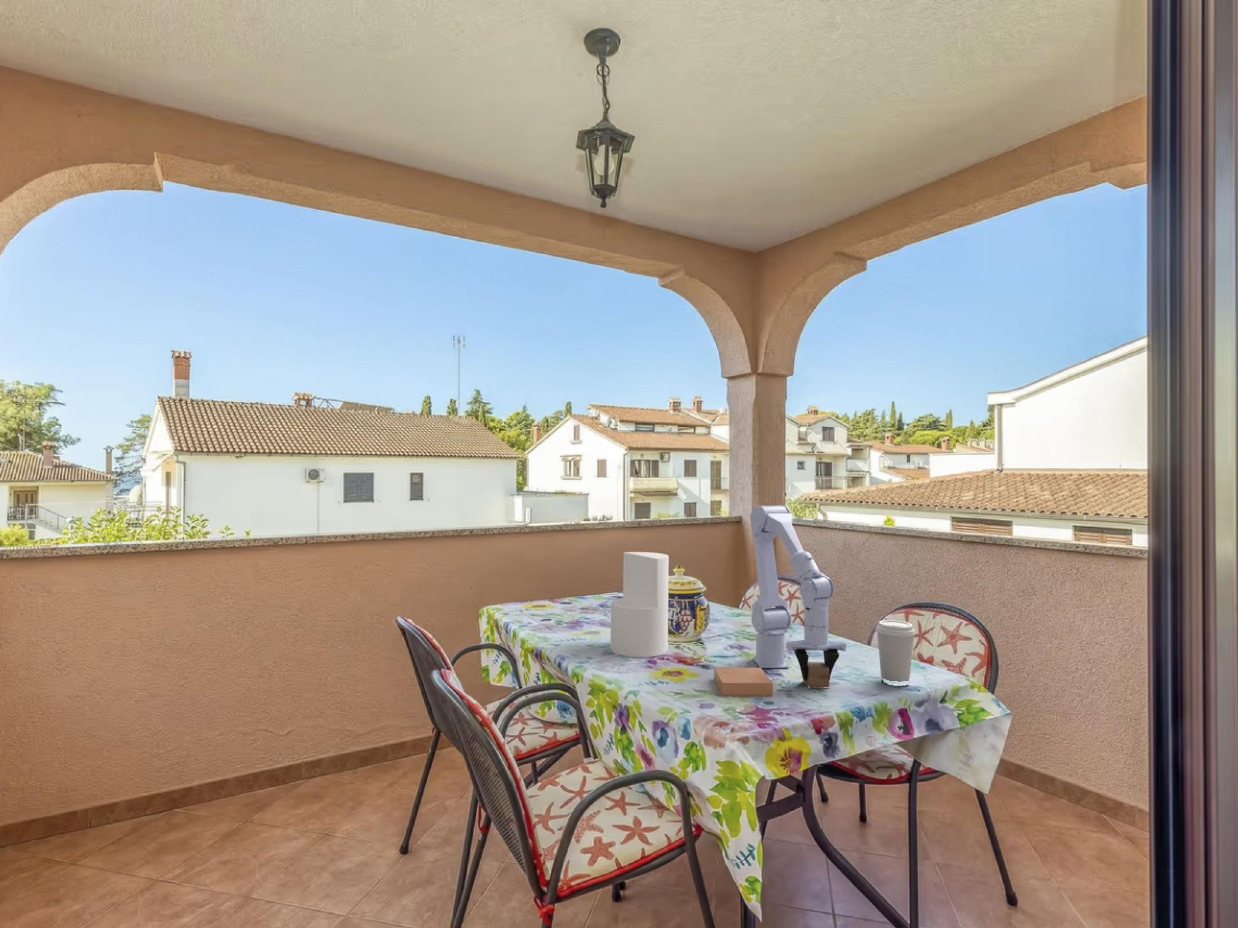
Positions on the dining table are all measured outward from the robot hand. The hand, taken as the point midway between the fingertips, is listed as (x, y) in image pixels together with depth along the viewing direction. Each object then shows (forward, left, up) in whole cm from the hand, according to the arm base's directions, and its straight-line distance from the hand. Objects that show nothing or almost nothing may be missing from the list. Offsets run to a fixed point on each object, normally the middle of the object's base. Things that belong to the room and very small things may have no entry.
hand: (815, 679), depth 161 cm
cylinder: (-32, -43, -2) cm, 54 cm away
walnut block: (0, 0, -1) cm, 1 cm away
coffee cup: (-2, +21, -2) cm, 21 cm away
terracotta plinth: (+2, -19, -1) cm, 19 cm away
